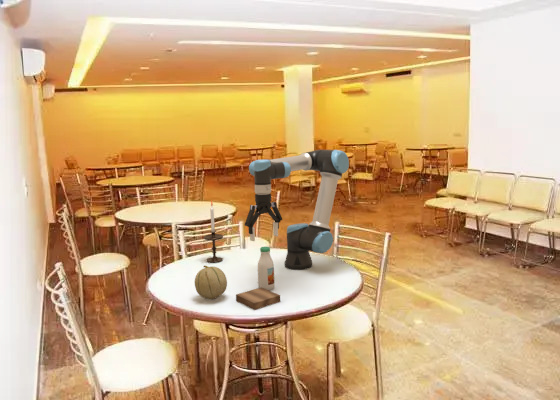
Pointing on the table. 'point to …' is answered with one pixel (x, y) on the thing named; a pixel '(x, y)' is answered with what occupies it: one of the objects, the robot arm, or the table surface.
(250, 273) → the table surface
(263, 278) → the milk bottle
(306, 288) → the table surface
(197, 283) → the cantaloupe
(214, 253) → the candlestick
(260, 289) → the block
